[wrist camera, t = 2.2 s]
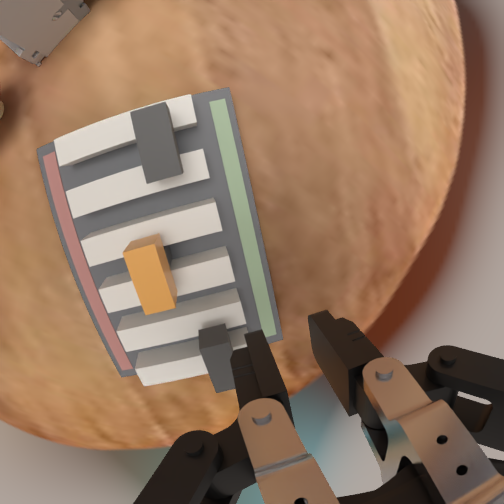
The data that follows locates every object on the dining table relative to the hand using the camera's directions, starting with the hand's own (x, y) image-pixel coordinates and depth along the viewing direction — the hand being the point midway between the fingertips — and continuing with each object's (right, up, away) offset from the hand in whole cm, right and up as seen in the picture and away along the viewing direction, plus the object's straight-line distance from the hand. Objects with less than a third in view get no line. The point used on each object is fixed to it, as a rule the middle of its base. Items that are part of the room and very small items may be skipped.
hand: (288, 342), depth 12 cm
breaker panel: (-10, +4, +19) cm, 22 cm away
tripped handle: (-10, +3, +16) cm, 19 cm away
